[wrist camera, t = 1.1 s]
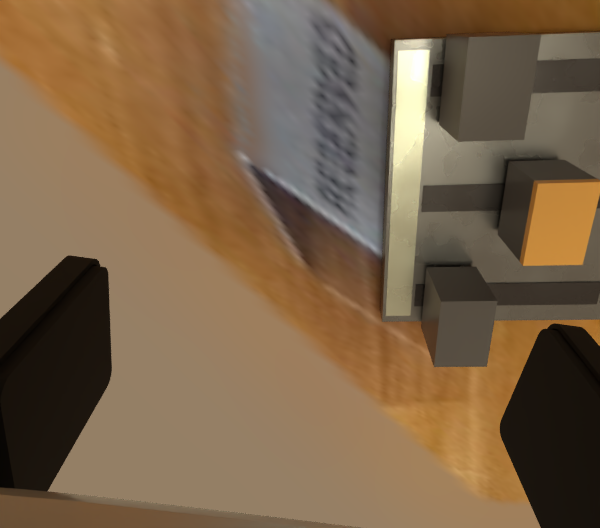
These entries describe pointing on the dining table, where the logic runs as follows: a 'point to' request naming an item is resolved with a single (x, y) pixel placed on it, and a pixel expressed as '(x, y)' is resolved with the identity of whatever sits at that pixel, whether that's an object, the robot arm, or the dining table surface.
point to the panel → (484, 183)
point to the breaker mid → (548, 212)
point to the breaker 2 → (457, 316)
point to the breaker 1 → (488, 85)
